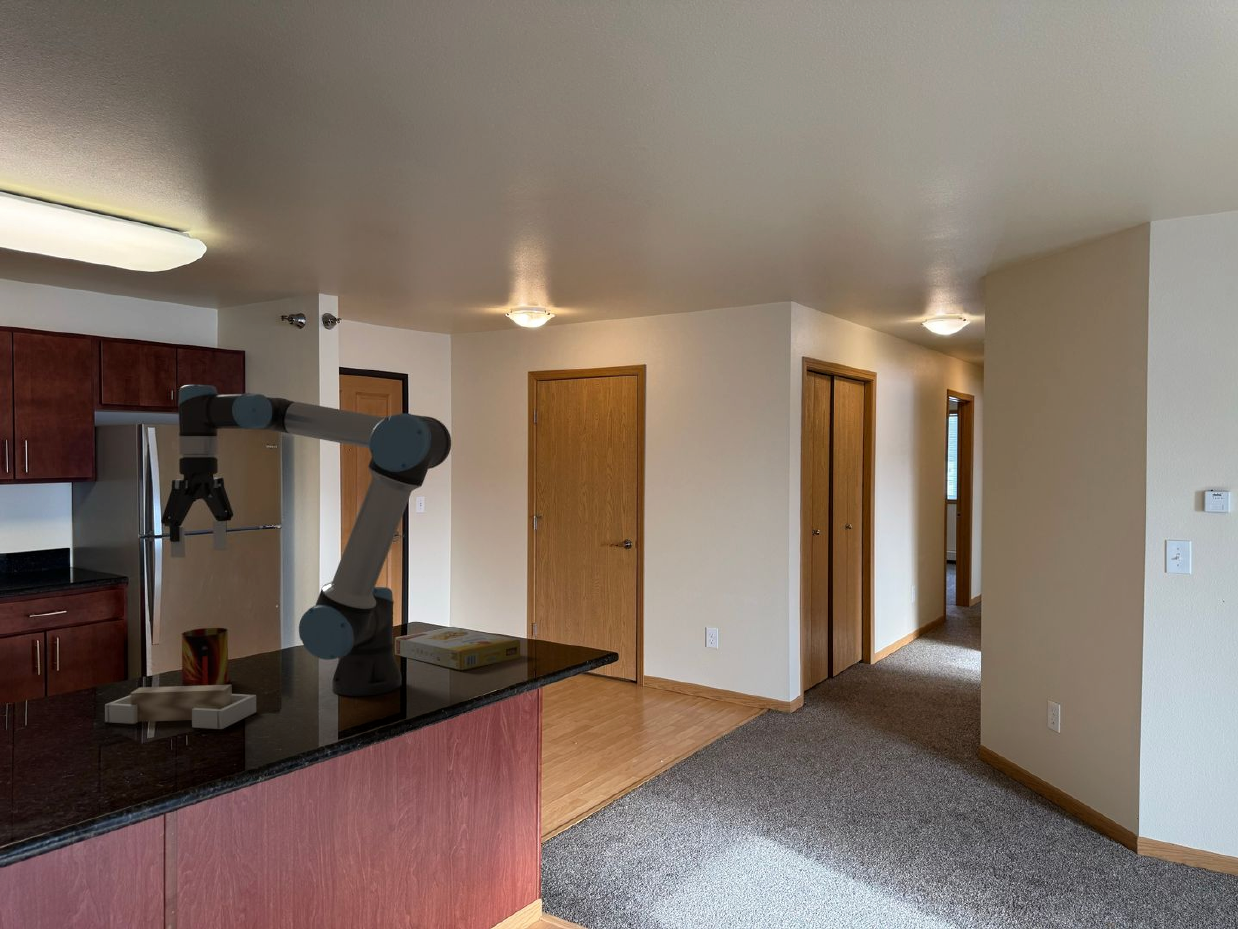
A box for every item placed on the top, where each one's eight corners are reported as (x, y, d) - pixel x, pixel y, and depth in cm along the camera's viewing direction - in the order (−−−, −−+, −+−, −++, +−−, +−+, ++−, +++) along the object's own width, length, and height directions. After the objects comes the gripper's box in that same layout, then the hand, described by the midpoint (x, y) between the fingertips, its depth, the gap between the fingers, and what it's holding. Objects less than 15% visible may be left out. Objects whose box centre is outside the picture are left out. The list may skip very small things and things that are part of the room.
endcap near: (256, 712, 174) (256, 695, 174) (221, 729, 163) (221, 711, 163) (228, 710, 175) (227, 693, 175) (192, 727, 165) (191, 709, 165)
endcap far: (105, 722, 168) (104, 704, 168) (145, 705, 179) (145, 689, 179) (133, 723, 167) (133, 706, 167) (172, 707, 178) (172, 690, 178)
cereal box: (461, 650, 205) (392, 635, 223) (461, 673, 205) (392, 656, 223) (521, 638, 221) (453, 624, 239) (521, 659, 221) (452, 644, 239)
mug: (203, 694, 188) (203, 640, 187) (174, 684, 196) (173, 632, 196) (245, 684, 195) (245, 633, 195) (215, 675, 204) (214, 626, 203)
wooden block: (231, 713, 174) (231, 684, 174) (224, 719, 170) (224, 690, 170) (140, 716, 172) (139, 687, 172) (131, 723, 168) (130, 693, 168)
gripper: (220, 456, 197) (221, 546, 197) (141, 456, 172) (142, 560, 172) (249, 456, 195) (250, 547, 196) (173, 456, 171) (174, 561, 171)
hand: (199, 553), depth 184 cm, fingers open, 13 cm apart
